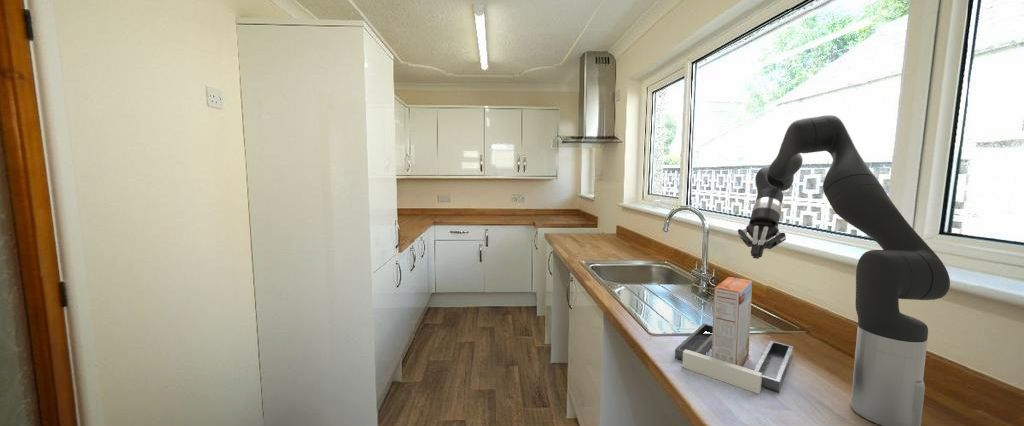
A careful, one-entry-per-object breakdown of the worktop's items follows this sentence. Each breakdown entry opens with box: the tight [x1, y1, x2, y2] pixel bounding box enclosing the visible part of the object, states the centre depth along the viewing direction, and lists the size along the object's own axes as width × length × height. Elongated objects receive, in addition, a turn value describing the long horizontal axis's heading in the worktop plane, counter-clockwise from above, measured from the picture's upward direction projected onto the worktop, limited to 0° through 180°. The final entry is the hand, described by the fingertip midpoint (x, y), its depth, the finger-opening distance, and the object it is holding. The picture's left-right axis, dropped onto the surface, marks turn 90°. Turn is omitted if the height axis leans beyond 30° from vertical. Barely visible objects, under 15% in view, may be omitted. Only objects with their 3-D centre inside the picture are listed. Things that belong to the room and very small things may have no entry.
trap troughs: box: [674, 323, 794, 393], centre depth 93 cm, size 22×24×2 cm
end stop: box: [681, 349, 762, 395], centre depth 83 cm, size 16×2×4 cm, turn 46°
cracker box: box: [711, 276, 753, 367], centre depth 90 cm, size 14×6×21 cm, turn 136°
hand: (755, 256), depth 107 cm, fingers closed
